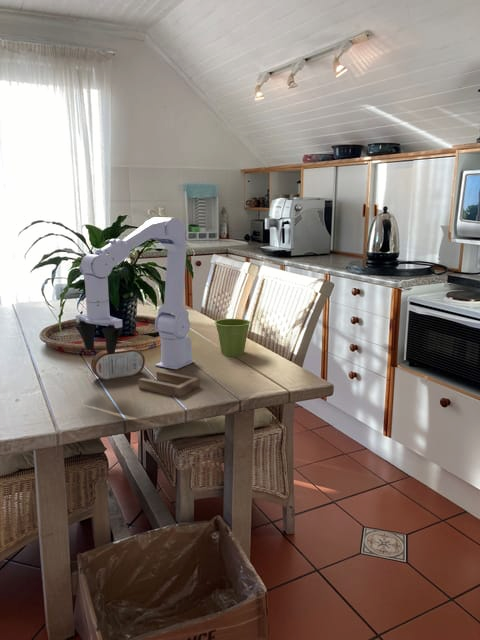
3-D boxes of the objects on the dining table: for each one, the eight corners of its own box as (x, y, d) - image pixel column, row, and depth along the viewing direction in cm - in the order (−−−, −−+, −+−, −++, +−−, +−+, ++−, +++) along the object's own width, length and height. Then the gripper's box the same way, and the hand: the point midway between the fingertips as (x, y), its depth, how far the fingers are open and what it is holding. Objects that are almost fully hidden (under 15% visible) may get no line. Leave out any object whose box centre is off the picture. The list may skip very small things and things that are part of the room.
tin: (143, 372, 154) (141, 344, 153) (146, 375, 152) (145, 346, 150) (91, 380, 147) (89, 351, 145) (94, 383, 144) (92, 353, 143)
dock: (160, 379, 148) (159, 370, 147) (199, 387, 141) (199, 378, 141) (138, 388, 140) (138, 379, 140) (179, 397, 134) (179, 388, 133)
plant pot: (257, 354, 174) (257, 320, 171) (237, 362, 164) (237, 327, 162) (228, 348, 180) (228, 316, 178) (207, 356, 170) (206, 322, 168)
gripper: (65, 300, 136) (69, 351, 139) (107, 305, 129) (110, 358, 132) (85, 296, 142) (88, 345, 145) (126, 301, 135) (129, 352, 138)
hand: (100, 351), depth 139 cm, fingers open, 7 cm apart
